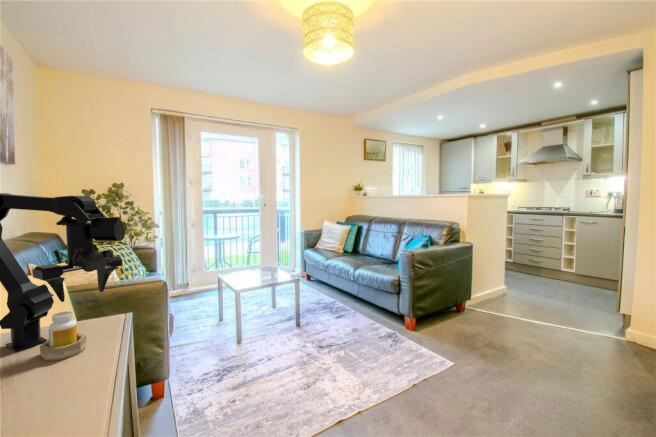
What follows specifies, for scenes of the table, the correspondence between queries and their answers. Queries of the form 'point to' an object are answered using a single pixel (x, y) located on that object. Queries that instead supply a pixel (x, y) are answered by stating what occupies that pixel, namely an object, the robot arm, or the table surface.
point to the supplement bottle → (62, 330)
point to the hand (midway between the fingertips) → (82, 296)
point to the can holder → (63, 349)
